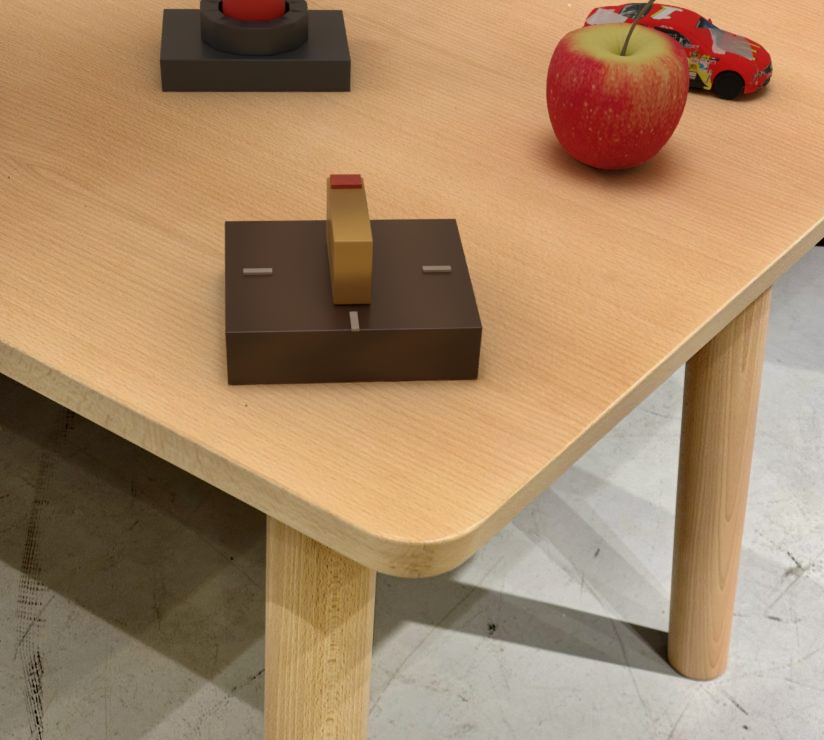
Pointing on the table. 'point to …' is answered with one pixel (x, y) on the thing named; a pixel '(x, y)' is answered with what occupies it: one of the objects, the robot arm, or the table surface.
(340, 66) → the button box
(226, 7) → the release button
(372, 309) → the plate
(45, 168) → the table surface
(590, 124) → the apple
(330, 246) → the lock
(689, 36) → the race car
